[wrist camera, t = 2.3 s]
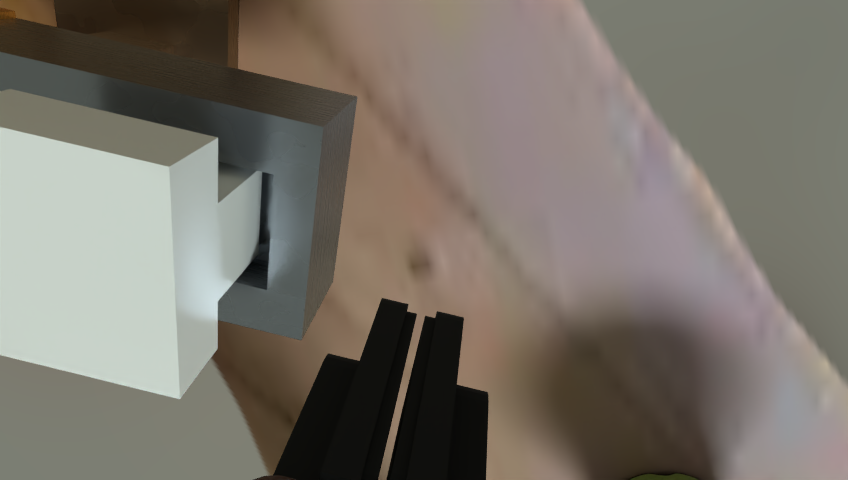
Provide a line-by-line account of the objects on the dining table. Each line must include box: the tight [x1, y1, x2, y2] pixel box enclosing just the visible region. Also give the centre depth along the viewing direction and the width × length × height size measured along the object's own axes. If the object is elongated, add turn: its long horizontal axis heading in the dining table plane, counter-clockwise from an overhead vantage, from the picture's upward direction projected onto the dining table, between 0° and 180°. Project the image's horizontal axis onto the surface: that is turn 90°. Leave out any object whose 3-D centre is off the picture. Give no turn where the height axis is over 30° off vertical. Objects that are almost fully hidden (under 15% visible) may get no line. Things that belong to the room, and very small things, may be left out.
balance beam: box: [0, 0, 357, 340], centre depth 20 cm, size 23×12×12 cm, turn 79°
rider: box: [0, 89, 262, 399], centre depth 14 cm, size 5×6×5 cm
